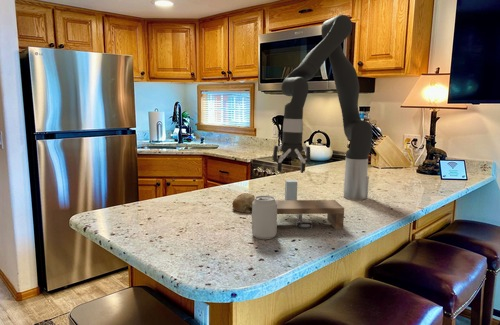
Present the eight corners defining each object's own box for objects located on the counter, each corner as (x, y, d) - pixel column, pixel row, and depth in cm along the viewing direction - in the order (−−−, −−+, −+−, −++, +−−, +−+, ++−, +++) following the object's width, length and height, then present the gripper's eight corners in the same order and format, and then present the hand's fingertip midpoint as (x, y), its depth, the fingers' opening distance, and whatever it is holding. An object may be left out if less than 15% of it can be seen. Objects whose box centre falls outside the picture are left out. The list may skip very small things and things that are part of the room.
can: (250, 231, 114) (251, 194, 113) (274, 231, 115) (275, 194, 113) (252, 240, 107) (253, 200, 105) (278, 240, 108) (279, 200, 106)
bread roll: (236, 222, 135) (241, 205, 131) (226, 204, 142) (230, 188, 138) (260, 218, 140) (265, 202, 135) (249, 201, 147) (253, 185, 143)
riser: (333, 219, 128) (334, 200, 127) (343, 229, 118) (344, 208, 117) (265, 220, 126) (265, 200, 125) (268, 230, 116) (269, 208, 115)
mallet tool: (294, 204, 147) (295, 179, 145) (306, 220, 126) (307, 192, 124) (284, 204, 146) (285, 179, 145) (294, 220, 126) (295, 192, 124)
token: (309, 224, 123) (310, 219, 122) (313, 229, 118) (313, 224, 117) (295, 225, 122) (295, 219, 122) (298, 230, 117) (298, 224, 117)
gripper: (309, 130, 144) (306, 171, 147) (273, 129, 143) (271, 170, 146) (313, 131, 137) (311, 174, 139) (275, 131, 136) (273, 174, 139)
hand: (290, 172), depth 143 cm, fingers open, 8 cm apart
